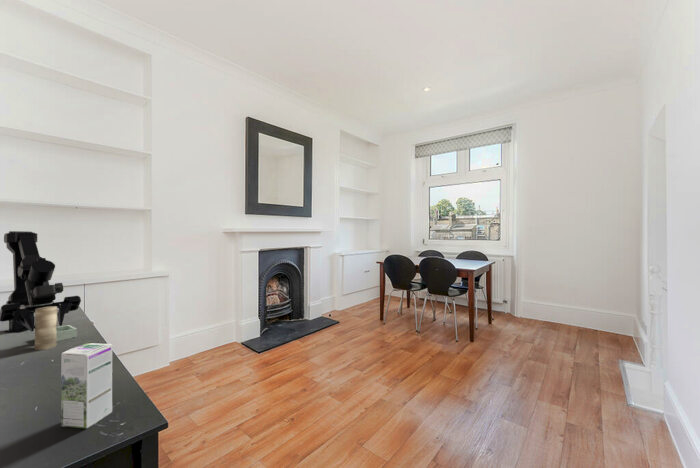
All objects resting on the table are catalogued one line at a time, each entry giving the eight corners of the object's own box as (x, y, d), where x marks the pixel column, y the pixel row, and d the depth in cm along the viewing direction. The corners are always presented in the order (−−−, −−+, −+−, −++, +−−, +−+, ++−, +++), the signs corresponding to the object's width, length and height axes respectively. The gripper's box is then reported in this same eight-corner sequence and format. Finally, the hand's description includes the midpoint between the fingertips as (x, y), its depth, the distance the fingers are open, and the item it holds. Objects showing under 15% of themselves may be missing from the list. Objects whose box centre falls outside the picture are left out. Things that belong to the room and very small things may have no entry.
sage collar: (37, 339, 105) (37, 330, 105) (69, 332, 112) (69, 324, 112) (43, 343, 100) (43, 335, 101) (76, 336, 108) (77, 328, 108)
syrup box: (113, 411, 61) (114, 342, 62) (85, 430, 56) (86, 353, 56) (88, 410, 62) (89, 341, 62) (58, 428, 56) (59, 352, 56)
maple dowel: (30, 350, 95) (30, 309, 95) (45, 344, 100) (46, 306, 100) (46, 350, 95) (46, 309, 95) (60, 344, 100) (61, 306, 100)
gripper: (1, 279, 92) (8, 319, 86) (79, 273, 108) (90, 307, 102) (-4, 301, 96) (2, 341, 90) (72, 292, 112) (81, 326, 106)
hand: (47, 328), depth 97 cm, fingers open, 6 cm apart
